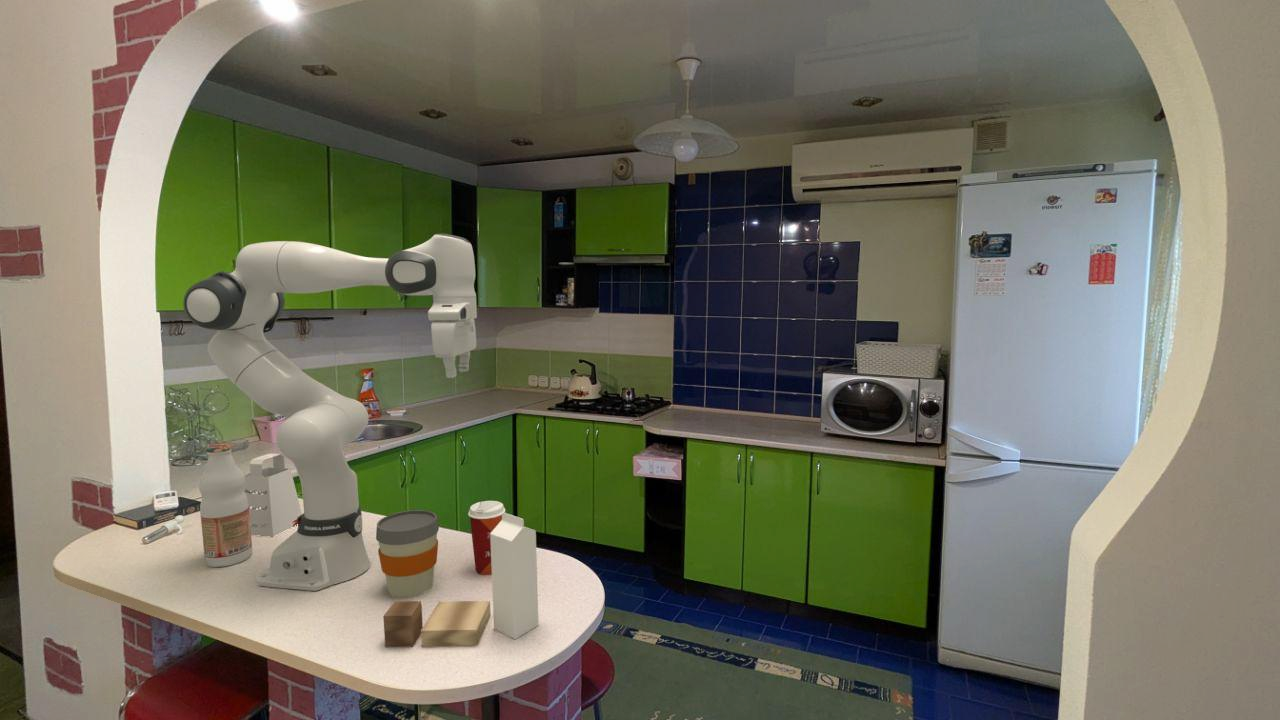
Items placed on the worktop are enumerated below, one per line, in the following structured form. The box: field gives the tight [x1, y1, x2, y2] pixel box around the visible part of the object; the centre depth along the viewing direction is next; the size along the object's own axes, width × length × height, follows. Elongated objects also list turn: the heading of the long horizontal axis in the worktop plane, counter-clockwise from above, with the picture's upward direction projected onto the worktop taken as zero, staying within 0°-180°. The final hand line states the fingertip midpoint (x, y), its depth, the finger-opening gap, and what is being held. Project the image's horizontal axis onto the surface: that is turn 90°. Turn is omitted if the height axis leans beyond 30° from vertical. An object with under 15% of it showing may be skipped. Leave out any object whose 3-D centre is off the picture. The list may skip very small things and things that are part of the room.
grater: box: [244, 453, 303, 538], centre depth 160 cm, size 10×10×20 cm
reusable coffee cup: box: [375, 509, 440, 598], centre depth 127 cm, size 12×13×15 cm
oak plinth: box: [420, 600, 491, 647], centre depth 111 cm, size 10×10×3 cm
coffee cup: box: [467, 500, 506, 576], centre depth 135 cm, size 8×8×15 cm
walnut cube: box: [382, 600, 424, 648], centre depth 108 cm, size 5×5×6 cm
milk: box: [490, 512, 539, 640], centre depth 111 cm, size 6×6×22 cm
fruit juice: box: [198, 442, 253, 568], centre depth 141 cm, size 9×9×28 cm
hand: (457, 374), depth 129 cm, fingers open, 8 cm apart
